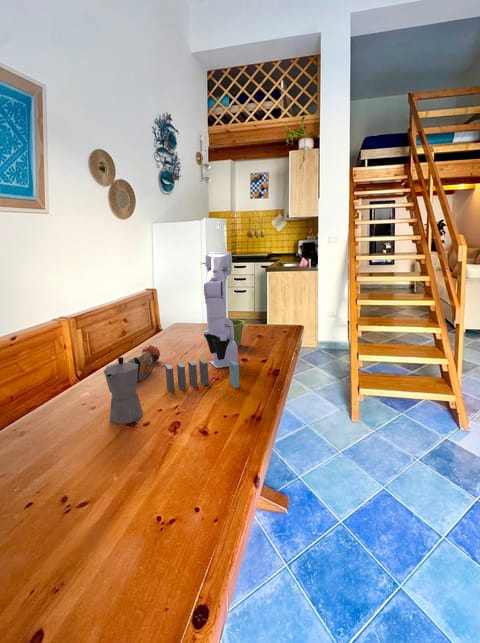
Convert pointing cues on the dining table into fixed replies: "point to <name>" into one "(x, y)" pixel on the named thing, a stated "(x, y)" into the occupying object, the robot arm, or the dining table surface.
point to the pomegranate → (153, 352)
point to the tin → (145, 364)
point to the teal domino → (234, 374)
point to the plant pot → (237, 331)
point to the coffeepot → (124, 390)
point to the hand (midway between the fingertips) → (217, 356)
